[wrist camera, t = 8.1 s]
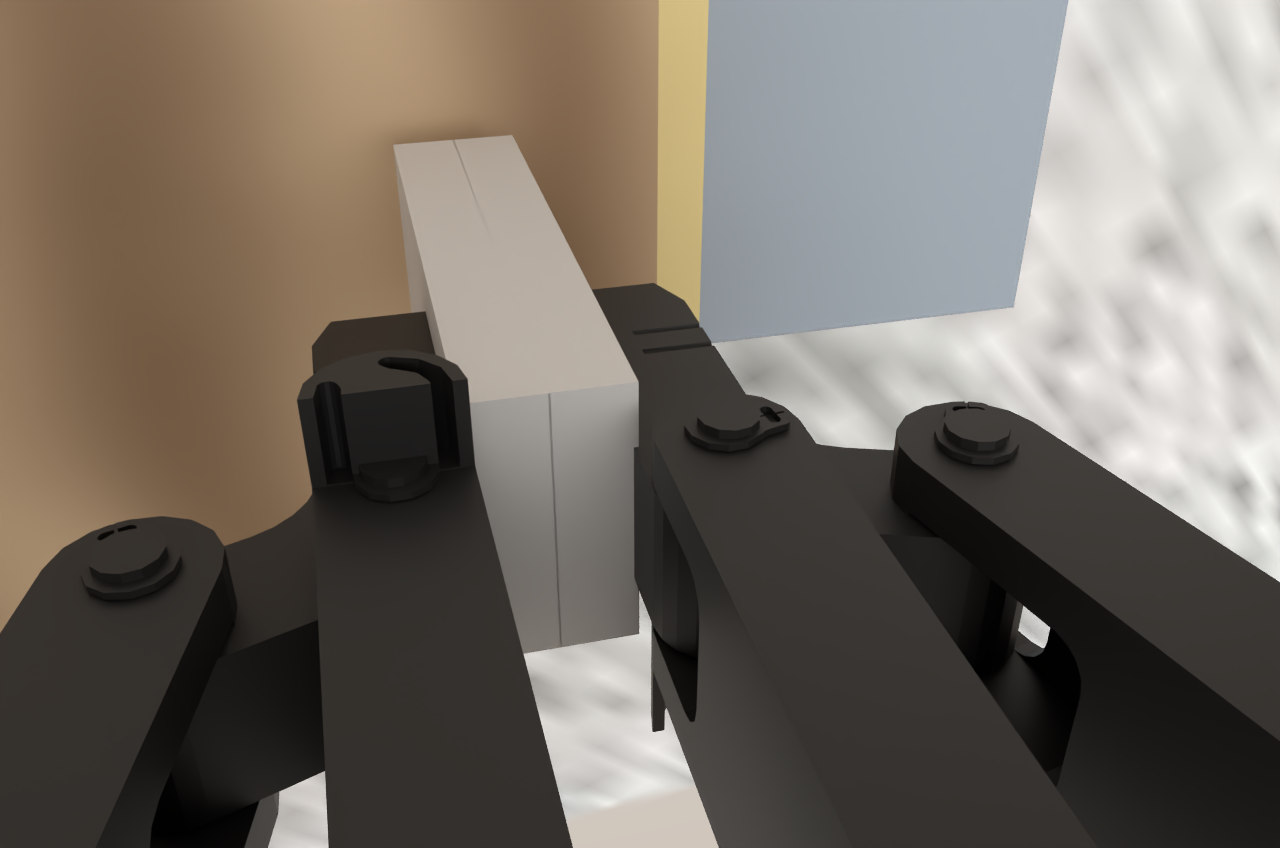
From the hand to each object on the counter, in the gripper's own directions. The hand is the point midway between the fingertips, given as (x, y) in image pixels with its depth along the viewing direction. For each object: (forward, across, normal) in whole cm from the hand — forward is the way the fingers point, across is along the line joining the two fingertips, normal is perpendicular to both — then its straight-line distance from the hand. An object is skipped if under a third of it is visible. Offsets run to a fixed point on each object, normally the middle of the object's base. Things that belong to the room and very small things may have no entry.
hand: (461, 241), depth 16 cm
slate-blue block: (+7, +4, 0) cm, 8 cm away
